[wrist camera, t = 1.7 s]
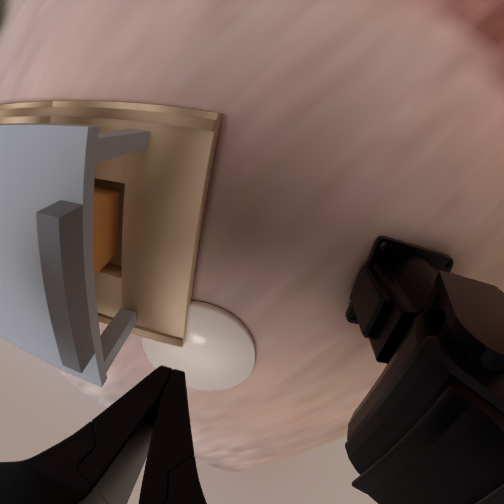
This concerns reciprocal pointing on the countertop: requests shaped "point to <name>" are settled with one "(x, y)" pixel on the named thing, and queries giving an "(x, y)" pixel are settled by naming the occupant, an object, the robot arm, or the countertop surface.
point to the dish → (208, 349)
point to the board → (146, 205)
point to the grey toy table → (56, 244)
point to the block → (105, 226)
